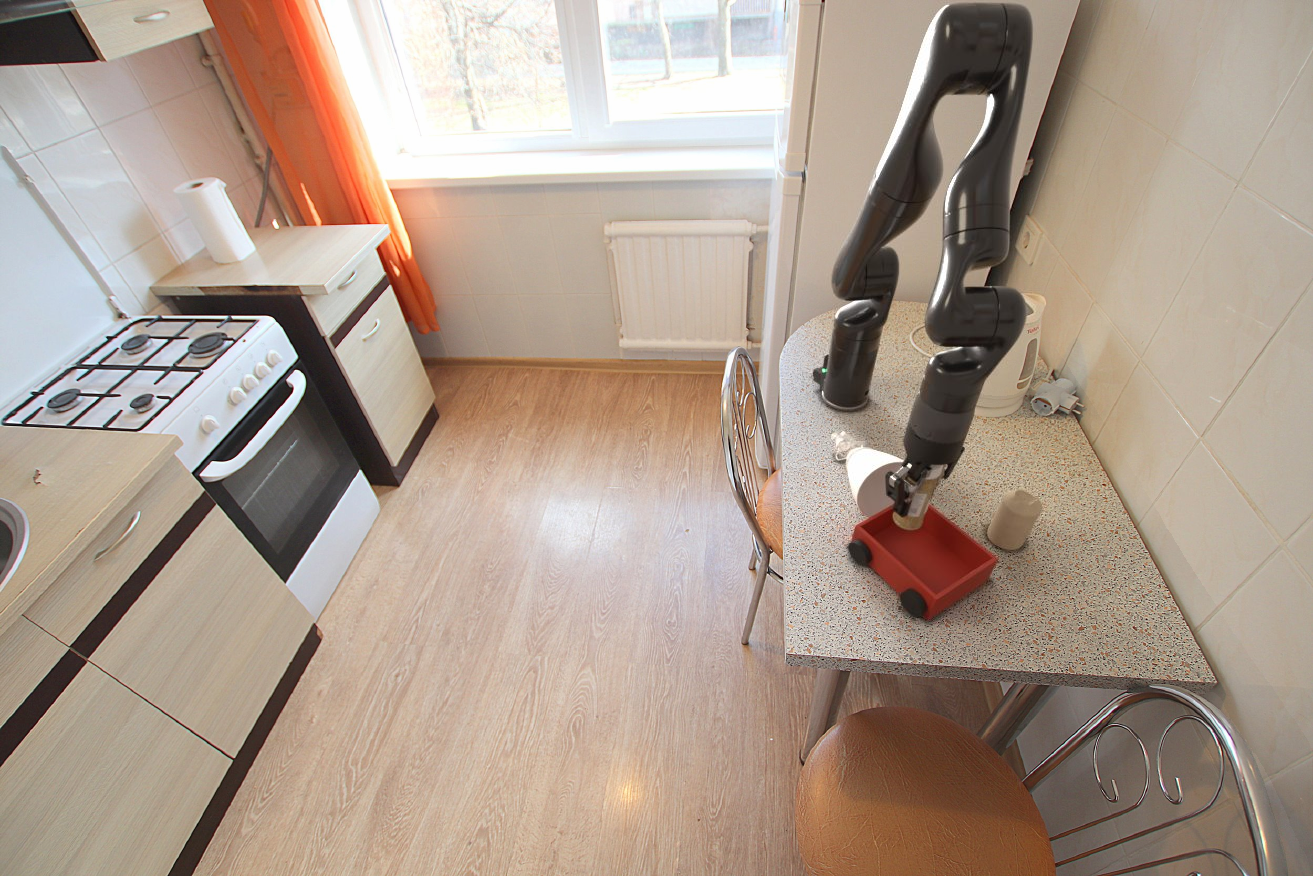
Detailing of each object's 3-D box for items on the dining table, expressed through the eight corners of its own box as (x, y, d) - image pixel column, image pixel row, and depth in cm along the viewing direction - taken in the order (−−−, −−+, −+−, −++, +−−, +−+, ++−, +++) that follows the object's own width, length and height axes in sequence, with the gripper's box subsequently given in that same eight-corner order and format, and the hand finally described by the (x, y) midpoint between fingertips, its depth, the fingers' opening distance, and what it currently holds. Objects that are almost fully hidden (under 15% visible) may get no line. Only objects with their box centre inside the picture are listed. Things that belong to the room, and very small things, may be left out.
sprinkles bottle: (928, 522, 96) (951, 461, 87) (908, 536, 94) (930, 475, 85) (904, 505, 99) (924, 444, 90) (885, 517, 97) (903, 457, 88)
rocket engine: (840, 403, 114) (890, 450, 98) (881, 430, 119) (934, 479, 103) (801, 450, 117) (843, 503, 102) (842, 474, 122) (888, 529, 107)
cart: (849, 547, 102) (855, 525, 98) (907, 514, 106) (914, 492, 102) (927, 621, 91) (936, 599, 87) (987, 580, 95) (999, 558, 92)
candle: (1028, 535, 101) (1051, 494, 95) (1016, 556, 98) (1039, 515, 92) (993, 519, 104) (1013, 478, 97) (981, 539, 101) (1000, 498, 95)
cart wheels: (846, 553, 101) (850, 537, 98) (915, 513, 106) (920, 497, 103) (917, 622, 91) (924, 607, 88) (989, 574, 96) (998, 558, 94)
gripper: (952, 390, 88) (924, 473, 99) (879, 427, 83) (858, 510, 95) (998, 418, 83) (963, 502, 94) (923, 459, 78) (895, 543, 90)
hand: (911, 506), depth 94 cm, fingers closed on sprinkles bottle, 4 cm apart
